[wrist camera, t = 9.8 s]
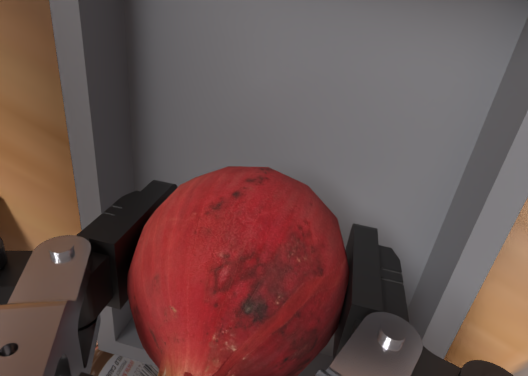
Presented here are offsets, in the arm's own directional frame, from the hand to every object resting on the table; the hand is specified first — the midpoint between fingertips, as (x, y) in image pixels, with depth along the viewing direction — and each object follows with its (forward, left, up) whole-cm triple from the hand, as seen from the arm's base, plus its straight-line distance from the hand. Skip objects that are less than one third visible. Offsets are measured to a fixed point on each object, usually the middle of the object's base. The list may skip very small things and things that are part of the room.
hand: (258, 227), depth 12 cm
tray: (0, 0, -4) cm, 4 cm away
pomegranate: (0, 0, -2) cm, 2 cm away
